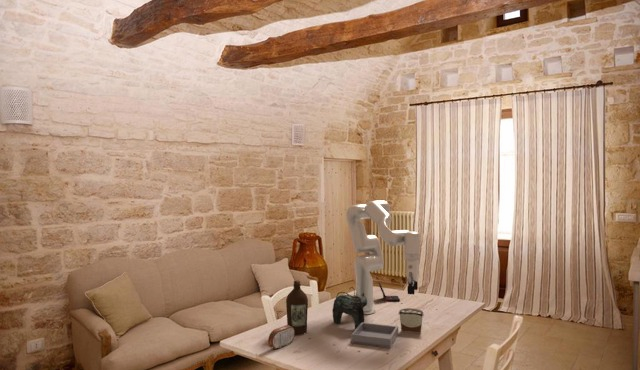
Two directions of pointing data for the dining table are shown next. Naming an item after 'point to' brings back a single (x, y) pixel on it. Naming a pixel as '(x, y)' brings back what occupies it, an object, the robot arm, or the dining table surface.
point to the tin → (281, 336)
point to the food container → (411, 320)
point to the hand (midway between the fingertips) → (412, 291)
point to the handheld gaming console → (389, 298)
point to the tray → (375, 335)
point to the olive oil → (297, 309)
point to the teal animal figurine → (349, 307)
